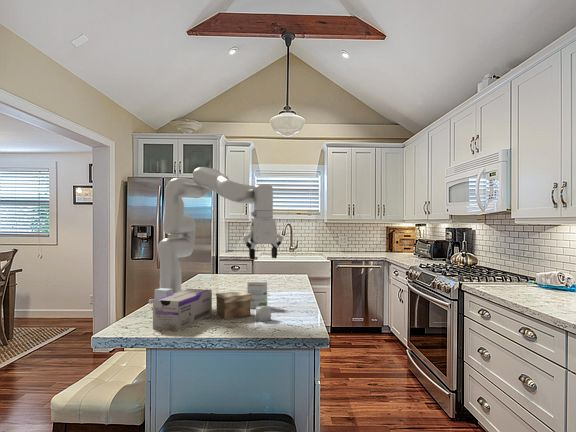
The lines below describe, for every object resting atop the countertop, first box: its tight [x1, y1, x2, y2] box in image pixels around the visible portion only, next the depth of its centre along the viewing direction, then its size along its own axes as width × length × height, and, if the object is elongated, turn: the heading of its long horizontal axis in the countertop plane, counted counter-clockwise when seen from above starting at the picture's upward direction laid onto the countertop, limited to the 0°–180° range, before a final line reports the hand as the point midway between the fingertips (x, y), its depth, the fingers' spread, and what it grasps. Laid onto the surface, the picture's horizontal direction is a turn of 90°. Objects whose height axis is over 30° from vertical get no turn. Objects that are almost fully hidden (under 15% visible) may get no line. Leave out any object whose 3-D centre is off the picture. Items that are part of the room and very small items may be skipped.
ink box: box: [246, 280, 268, 309], centre depth 175 cm, size 9×5×12 cm, turn 83°
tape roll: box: [255, 305, 272, 323], centre depth 152 cm, size 6×6×5 cm
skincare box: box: [153, 287, 173, 299], centre depth 153 cm, size 6×4×12 cm
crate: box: [216, 296, 251, 321], centre depth 159 cm, size 11×10×8 cm
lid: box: [215, 290, 252, 303], centre depth 159 cm, size 12×11×2 cm
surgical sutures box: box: [152, 288, 213, 332], centre depth 149 cm, size 25×11×11 cm, turn 164°
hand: (263, 258), depth 152 cm, fingers open, 9 cm apart
